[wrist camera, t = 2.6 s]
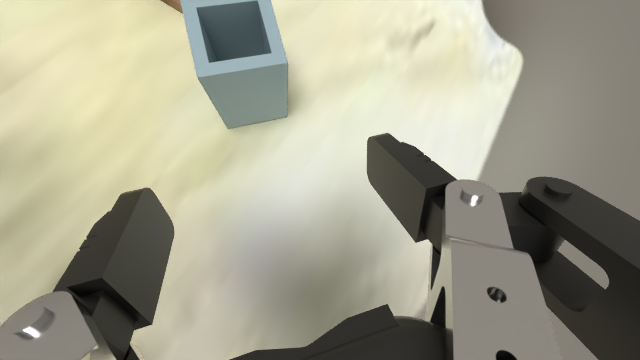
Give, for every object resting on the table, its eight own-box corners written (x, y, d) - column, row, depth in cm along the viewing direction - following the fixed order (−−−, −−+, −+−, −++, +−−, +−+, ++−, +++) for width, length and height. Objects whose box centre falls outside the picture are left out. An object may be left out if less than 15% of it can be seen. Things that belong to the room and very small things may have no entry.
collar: (228, 128, 25) (197, 77, 16) (215, 74, 26) (179, -3, 17) (287, 117, 26) (288, 62, 17) (273, 65, 27) (267, -12, 18)
